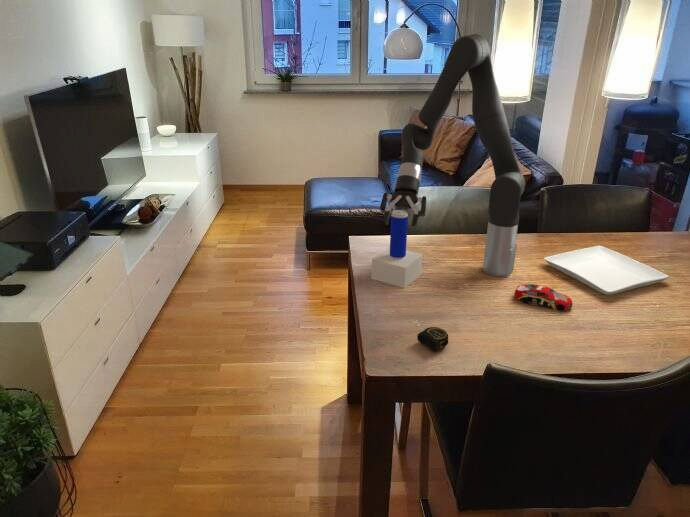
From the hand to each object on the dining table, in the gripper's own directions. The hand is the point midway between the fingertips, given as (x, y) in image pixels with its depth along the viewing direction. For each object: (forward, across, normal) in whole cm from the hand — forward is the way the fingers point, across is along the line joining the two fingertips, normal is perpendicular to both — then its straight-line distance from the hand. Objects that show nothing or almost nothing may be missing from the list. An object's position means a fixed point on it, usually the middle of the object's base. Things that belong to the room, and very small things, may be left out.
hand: (399, 225), depth 164 cm
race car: (+16, +45, +10) cm, 49 cm away
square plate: (-2, +64, +28) cm, 70 cm away
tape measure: (+39, +18, -13) cm, 45 cm away
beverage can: (+8, 0, +7) cm, 11 cm away
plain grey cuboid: (+13, 0, +12) cm, 18 cm away
